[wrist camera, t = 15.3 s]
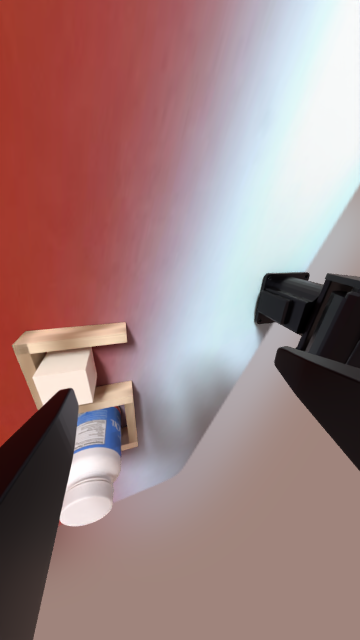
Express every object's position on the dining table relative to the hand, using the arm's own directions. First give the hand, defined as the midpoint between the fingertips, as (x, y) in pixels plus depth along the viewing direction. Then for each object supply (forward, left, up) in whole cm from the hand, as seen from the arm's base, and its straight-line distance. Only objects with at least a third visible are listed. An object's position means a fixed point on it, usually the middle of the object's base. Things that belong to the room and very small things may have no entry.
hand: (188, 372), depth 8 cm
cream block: (+8, +8, -13) cm, 17 cm away
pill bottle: (+7, +16, -13) cm, 22 cm away
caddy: (+7, +12, -13) cm, 19 cm away
